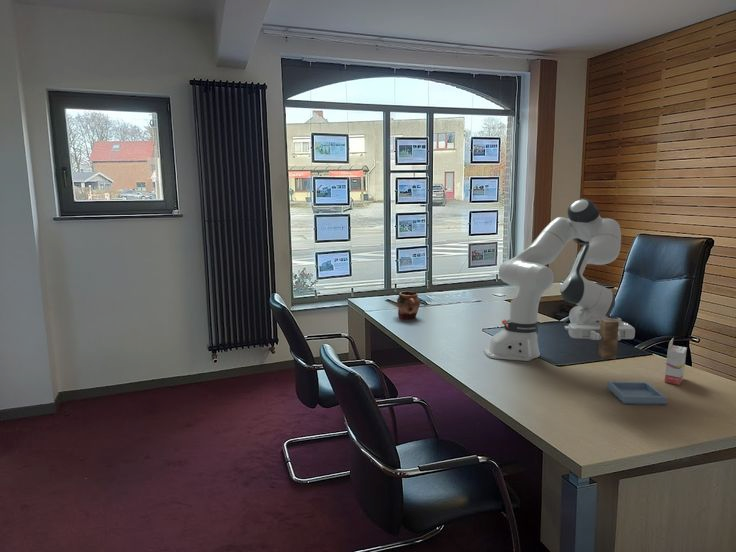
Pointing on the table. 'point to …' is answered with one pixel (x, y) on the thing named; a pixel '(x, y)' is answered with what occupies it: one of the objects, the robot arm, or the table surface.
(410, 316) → the decorative planter
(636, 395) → the slate tray
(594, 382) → the table surface
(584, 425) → the table surface
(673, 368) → the ink cartridge box
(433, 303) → the table surface
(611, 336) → the walnut block
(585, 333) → the robot arm
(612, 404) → the table surface
